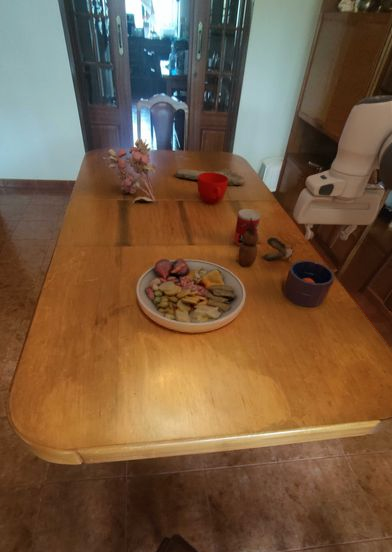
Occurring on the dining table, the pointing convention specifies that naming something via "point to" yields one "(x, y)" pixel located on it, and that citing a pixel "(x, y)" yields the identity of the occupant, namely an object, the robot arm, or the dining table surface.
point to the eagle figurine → (280, 247)
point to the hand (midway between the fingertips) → (325, 239)
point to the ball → (309, 280)
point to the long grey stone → (232, 177)
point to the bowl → (190, 295)
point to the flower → (138, 165)
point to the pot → (308, 283)
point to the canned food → (245, 224)
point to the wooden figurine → (248, 246)
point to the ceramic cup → (212, 187)
